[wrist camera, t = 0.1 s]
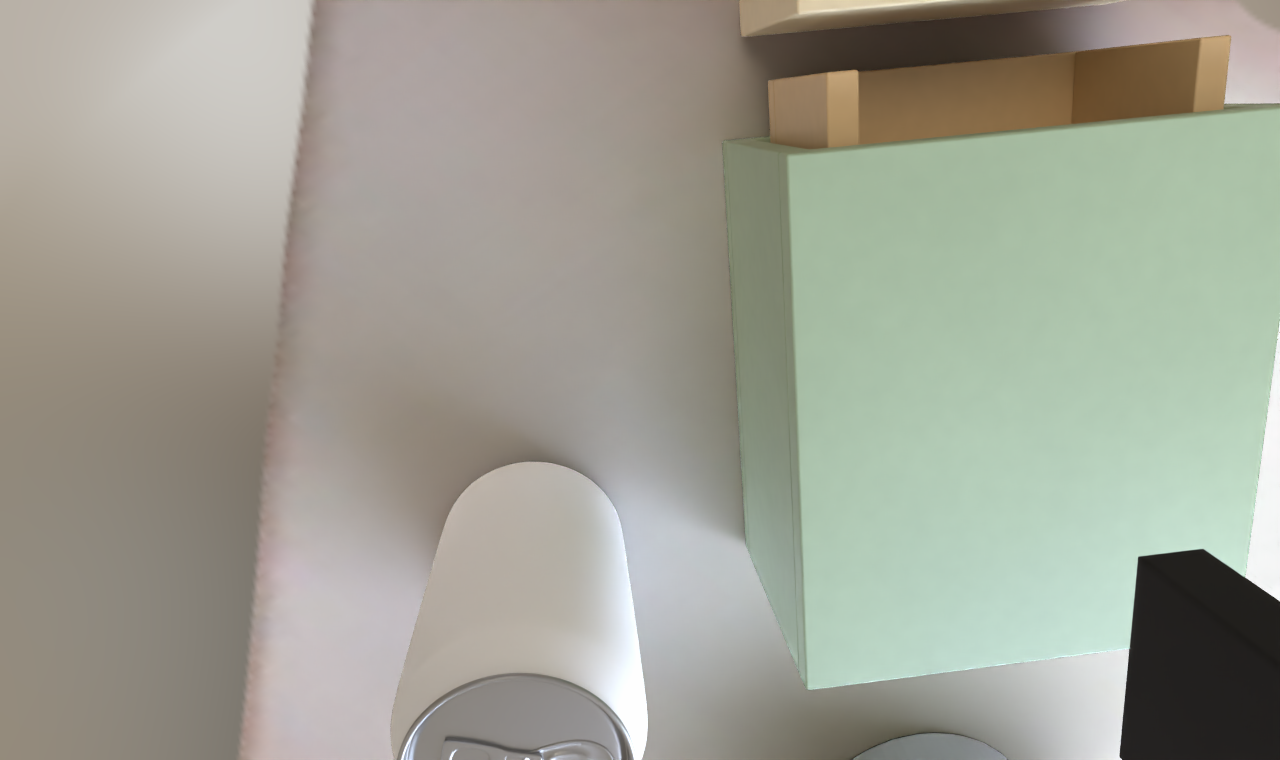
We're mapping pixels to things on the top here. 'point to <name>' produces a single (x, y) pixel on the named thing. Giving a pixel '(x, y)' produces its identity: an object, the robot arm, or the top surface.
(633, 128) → the top surface
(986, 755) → the coffee mug
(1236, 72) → the top surface
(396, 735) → the can
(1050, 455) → the cabinet
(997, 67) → the drawer
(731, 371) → the top surface
